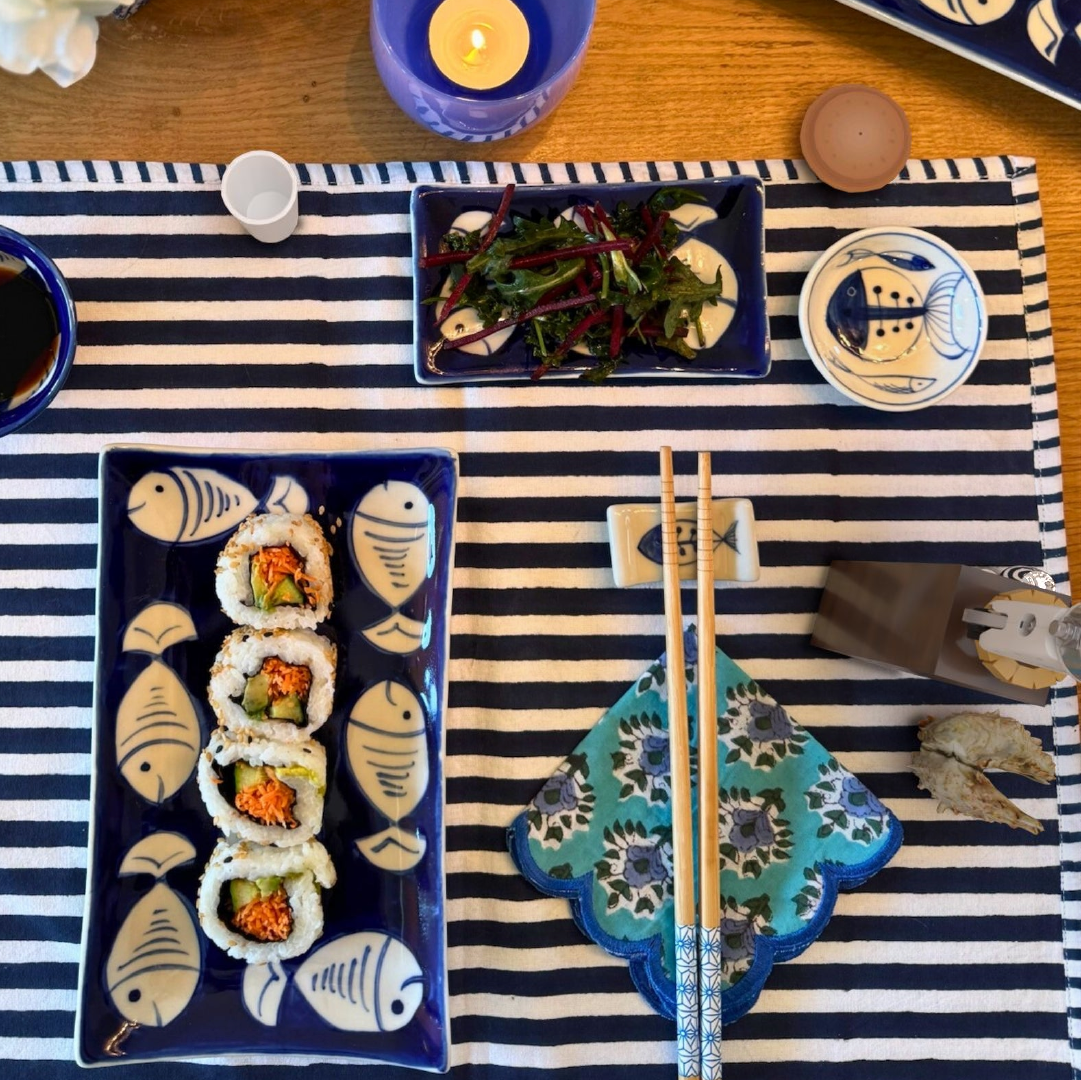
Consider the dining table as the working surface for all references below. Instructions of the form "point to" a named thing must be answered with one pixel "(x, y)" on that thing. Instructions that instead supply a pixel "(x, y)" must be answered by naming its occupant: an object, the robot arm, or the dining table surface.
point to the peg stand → (916, 620)
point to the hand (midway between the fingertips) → (988, 627)
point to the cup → (262, 195)
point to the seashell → (978, 764)
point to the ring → (1009, 667)
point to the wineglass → (1028, 576)
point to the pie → (855, 138)
